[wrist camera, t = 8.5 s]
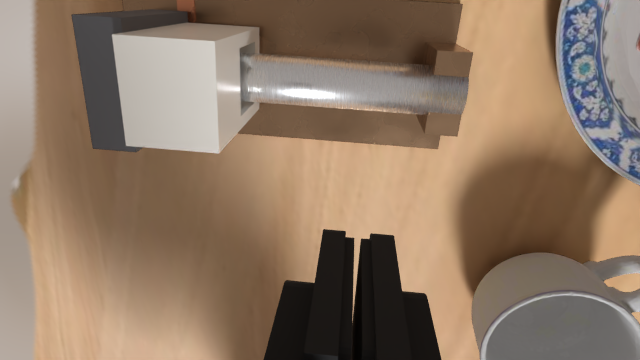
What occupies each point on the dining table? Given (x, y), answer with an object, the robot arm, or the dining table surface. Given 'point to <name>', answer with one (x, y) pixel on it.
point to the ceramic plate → (602, 77)
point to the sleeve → (183, 85)
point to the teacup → (556, 310)
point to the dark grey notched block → (110, 67)
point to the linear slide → (346, 67)
